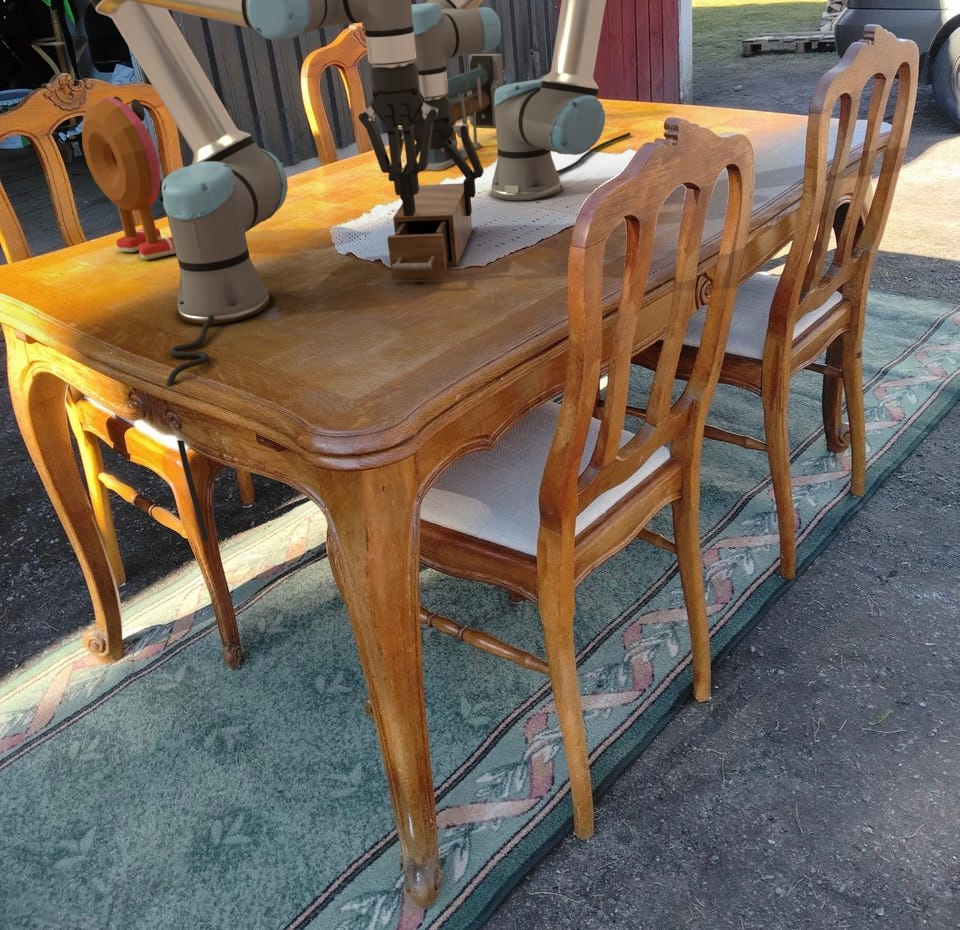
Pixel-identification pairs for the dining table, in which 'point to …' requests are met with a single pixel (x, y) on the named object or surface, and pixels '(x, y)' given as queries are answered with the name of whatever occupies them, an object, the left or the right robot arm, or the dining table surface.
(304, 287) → the dining table surface
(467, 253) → the dining table surface
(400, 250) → the drawer
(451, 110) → the clamp
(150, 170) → the toy
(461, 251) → the cabinet
